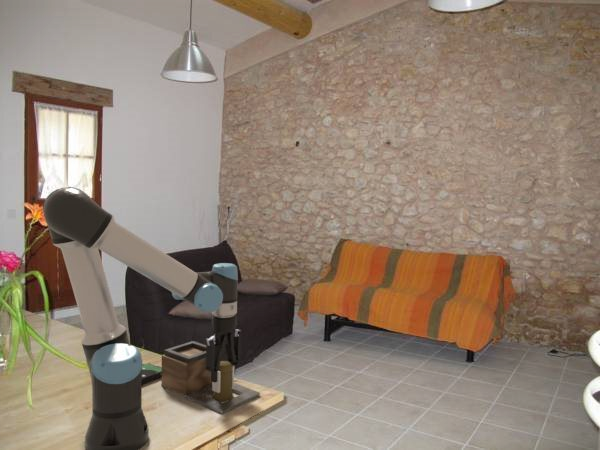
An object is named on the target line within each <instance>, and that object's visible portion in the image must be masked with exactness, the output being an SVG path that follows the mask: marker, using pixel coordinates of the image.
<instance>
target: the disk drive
mask: <svg viewBox="0 0 600 450" xmlns="http://www.w3.org/2000/svg"><path fill="white" fill-rule="evenodd" d="M159 379H162V366H159V365H155V364H152V363H151V362H148V363H145V364H144V363H142V386H144V385H147V384H148V383H151V381H152V382H154V381H157V380H159Z"/></svg>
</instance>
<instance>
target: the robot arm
mask: <svg viewBox="0 0 600 450" xmlns="http://www.w3.org/2000/svg"><path fill="white" fill-rule="evenodd" d="M42 212H43V213H42V214H43V217H44V220H45V223H46V225H47V228H48V231H49V236H50V238H51V242H52V245H53V246H55V247H57V248H58V249H60V251H61V253H62V257H63V260H64V265H65V267H66V271H67V274H68V278H69V281H70V284H71V288H72V292H73V295H74V299H75V301H76V305H77V309H78V311H79V316H80V319H81V323H82V326H83V331H84V333H85V334H84V335H83V337H82V338H81V346H82V348H83V349H82V350H83V352H84V355H85V360H86V364H87V367H88V370H89V375H90V379H91V387H92V388H91V389H92V390H91V391H92V393H91V395H92V396H91V397H92V398H91V400H92V403H91V404H92V414H91V418H90V421H89V424H88V427H87V429H86V430H87V431H86V433H85V436H84V447H85V449H86V450H139V449H141V448H142V447H143V446H144V445H146V444H147V442H148V440H149V435H150V434H149V425H148V423H147V420H146V415H145V414H144V412H143V408H142V406H143V405H142V401H143V400H142V395H143V394H142V386H143V385H142V365H143V359H142V352H141V351H140V349H138V347H136V346H135V345H131V343H130V339H129V335H128V332H127V328H126V326H125V325H123V324H120V323H119V321H118V317H117V313H116V309H115V307H114V303H113V302H114V301H113V299H112V296H111V292H110V291H111V290H110V287H109V284H108V280H107V276H106V273H105V269H104V266H103V262H102V258H101V254H100V251H101V252H104V253H105V254H107V255H108V256H110V257H111V258H113V259H115V260H117V261H118V262H120V263H122V264H123V265H125V266H127V267H129V268H131V269H132V270H134V271H136V272H137V273H139V274H140V275H142V276H144V277H146V278H147V279H149V280H150V281H153V282H154V283H155V284H158V285H159V286H161V287H163V288H164V289H166V290H168V291H170V292H171V296H172V297H173V299H175V300H182V301H187V302H188V303H189V304H191V305H193V306H194V307H196V309H198V310H199V311H202V312H203V313H211V314H212V315H211V327H212V330H213V332H212V334H211V336H210V337H209V338H208V337H207V338H205V340H204V342H205V345H206V370H208V371H210V372H211V381H212V391H215V392H217V393H220V378H221V371H218V370H219V366H220V361H222V355H223V350H224V349H225V351H226V356H227V361H228V362H230V363H231V364H232V371H231V373H230V375H231V384H232V387H233V386H234V383H235V374H236V366H238V365H239V362H241V360H242V352H241V351H242V348H241V347H242V345H241V344H242V342H241V340H242V334H243V330H241V329H238V328H236V327H237V326H238V316H237V313H238V281H239V276H238V275H239V274H238V266H237V265H236V264H234V263H231V262H229V263H227V262H219V263H215V264H213V265H212V269H211V270H209V271H200V272H198V271H197V272H195V271H194V270H193V269H191V268H189V267H188V266H186V265H184V264H183V263H182V262H179V260H177V259H175V258H174V257H172V256H170V255H169V254H166V253H165V252H164V251H162V250H161V249H159V248H158V247H156V246H154V245H152V244H151V243H149V242H147V241H146V240H145V239H143V238H142V237H140V236H138V235H137V234H135V233H134V232H132V231H130V230H129V229H127V228H126V227H124V226H122V225H121V224H119V223H118V222H116V221H115V217H114V215H113V214H111V213H110V212H108V211H107V210H105V209H104V208H103V207H101V206H100V205H99V204H98V203H96V201H95V200H93V199H92V198H91V196H90V195H88V194H87V193H86V192H85V191H83V190H82V189H80V188H77V187H74V186H73V187H72V186H67V187H61V188H57V189H54V190H53V191H51V192H50V193H49V194H48V195H47V197H46V198H45V200H44V203H43V207H42Z"/></svg>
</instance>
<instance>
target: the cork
mask: <svg viewBox="0 0 600 450" xmlns="http://www.w3.org/2000/svg"><path fill="white" fill-rule="evenodd" d="M218 371H221V378H220V393H217V392H215V391H214V393H213V397H212V399H214V400H217V401H219V402H226V401H228V400H230V399H233V398H234V396H233V395H234V392H232V384H231V375H230V373H231V371H232V364H231V363H230V362H228V360H221V361H220V366H219V370H218Z"/></svg>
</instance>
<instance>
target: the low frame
mask: <svg viewBox="0 0 600 450" xmlns="http://www.w3.org/2000/svg"><path fill="white" fill-rule="evenodd" d="M232 393H233V394H237V396H235V397H233V398H232V399H230V400H228V401H223V402H222V401H217V400H215V399H214V398H213V397H209V396H210V395H211V394H214V391H212V384H211V385H208V386H206V387H203V388H201V389H199V390H196V391H194V392H192V393H189V394H187V395H186V396H185V399H186V400H188V401H191V402H194V403H195V404H197V405H201V406H202V407H205V408H207V409H209V410H212V411H214V412H217V414H218V413H219V414H221V415H224V414H226V413H228V412H230V411H232V410H234V409H237V408H238V407H240V406H242V405H244V404H246V403H249V402H250V401H252V400H254V399H256V398H258V397H260V395H261V392H260V391H257V390H255V389H251V388H250V387H249V388H248V387H246V386H243V385H241V384H238V383H235V382H234V386H233V387H232Z"/></svg>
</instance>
